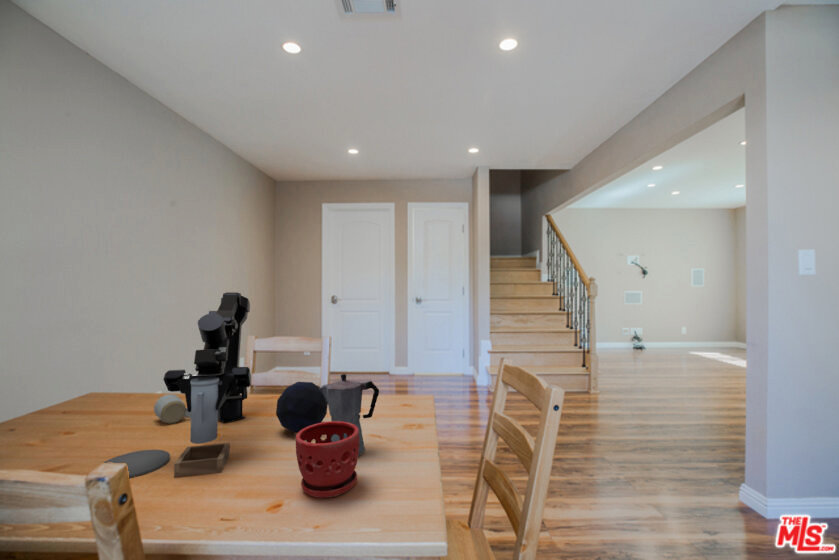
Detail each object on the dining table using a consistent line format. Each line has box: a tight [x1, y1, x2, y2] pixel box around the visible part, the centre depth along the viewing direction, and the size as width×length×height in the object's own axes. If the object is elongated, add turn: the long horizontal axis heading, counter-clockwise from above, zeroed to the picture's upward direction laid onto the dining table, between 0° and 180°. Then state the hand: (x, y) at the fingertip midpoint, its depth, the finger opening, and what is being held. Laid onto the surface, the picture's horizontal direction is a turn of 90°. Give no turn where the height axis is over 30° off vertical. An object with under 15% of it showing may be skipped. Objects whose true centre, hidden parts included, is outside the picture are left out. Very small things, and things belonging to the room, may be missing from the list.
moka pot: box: [319, 373, 380, 456], centre depth 101 cm, size 10×15×20 cm, turn 95°
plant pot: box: [295, 420, 359, 499], centre depth 83 cm, size 13×13×12 cm
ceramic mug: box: [153, 393, 191, 425], centre depth 125 cm, size 11×8×8 cm
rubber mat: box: [103, 449, 171, 479], centre depth 93 cm, size 14×14×1 cm
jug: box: [189, 377, 219, 445], centre depth 92 cm, size 8×6×14 cm
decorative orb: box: [275, 381, 328, 434], centre depth 116 cm, size 14×15×15 cm
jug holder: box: [173, 442, 231, 478], centre depth 93 cm, size 10×10×3 cm
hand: (203, 410), depth 92 cm, fingers closed on jug, 6 cm apart
